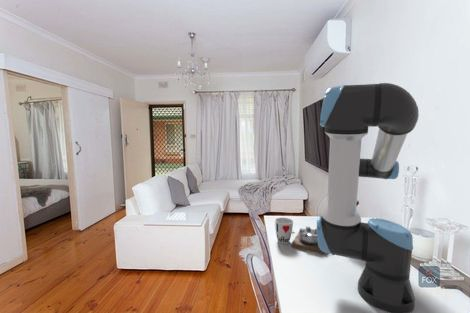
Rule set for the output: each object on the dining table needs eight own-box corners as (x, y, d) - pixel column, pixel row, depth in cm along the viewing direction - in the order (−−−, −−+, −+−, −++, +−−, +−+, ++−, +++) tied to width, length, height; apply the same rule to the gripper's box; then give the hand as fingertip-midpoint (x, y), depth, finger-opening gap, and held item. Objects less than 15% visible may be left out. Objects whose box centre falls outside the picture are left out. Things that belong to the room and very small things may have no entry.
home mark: (294, 232, 123) (294, 232, 123) (291, 233, 122) (291, 232, 122) (289, 229, 127) (289, 229, 126) (287, 230, 126) (287, 229, 126)
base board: (324, 255, 101) (325, 250, 100) (291, 247, 107) (291, 242, 107) (329, 241, 113) (329, 237, 113) (299, 235, 119) (299, 231, 119)
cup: (272, 242, 111) (272, 221, 110) (277, 236, 118) (278, 216, 117) (289, 246, 108) (290, 225, 107) (294, 239, 115) (294, 219, 114)
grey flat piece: (312, 247, 102) (313, 238, 102) (293, 238, 112) (293, 229, 111) (340, 237, 113) (341, 229, 112) (321, 229, 122) (321, 221, 121)
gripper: (360, 184, 111) (357, 233, 114) (330, 181, 117) (328, 228, 120) (360, 188, 105) (357, 240, 107) (328, 184, 111) (326, 233, 113)
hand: (341, 233), depth 113 cm, fingers closed
